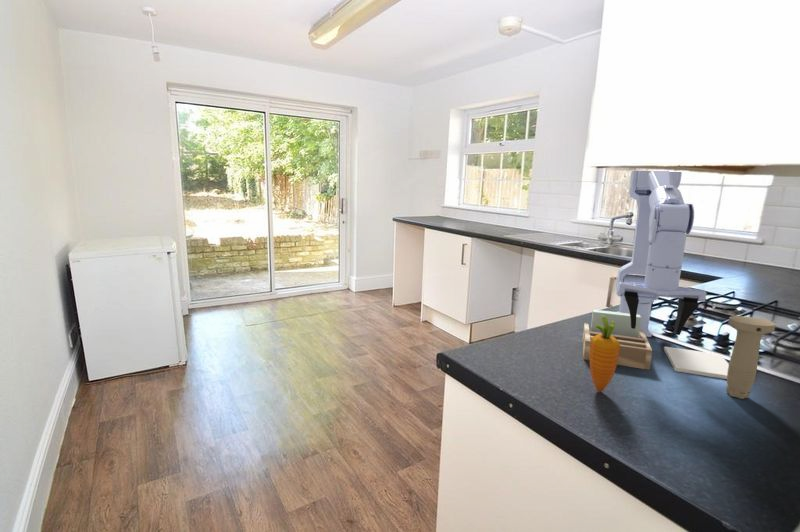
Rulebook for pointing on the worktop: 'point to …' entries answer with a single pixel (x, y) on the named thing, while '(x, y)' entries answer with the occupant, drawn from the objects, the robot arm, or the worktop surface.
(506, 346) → the worktop surface
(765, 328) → the handle
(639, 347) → the rack
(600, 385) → the carrot
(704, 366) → the tile
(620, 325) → the sheet
